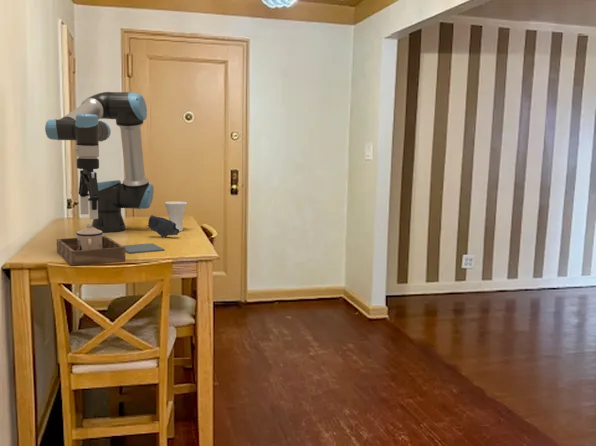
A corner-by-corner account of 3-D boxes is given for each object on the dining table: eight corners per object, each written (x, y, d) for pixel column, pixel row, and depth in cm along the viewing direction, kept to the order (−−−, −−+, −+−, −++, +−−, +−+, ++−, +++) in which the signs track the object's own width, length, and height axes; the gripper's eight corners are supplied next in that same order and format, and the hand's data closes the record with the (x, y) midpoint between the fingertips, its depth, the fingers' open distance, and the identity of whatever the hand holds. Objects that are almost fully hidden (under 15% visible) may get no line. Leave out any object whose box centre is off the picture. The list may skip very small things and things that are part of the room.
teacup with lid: (77, 253, 209) (76, 223, 207) (103, 252, 212) (102, 222, 210) (76, 260, 198) (75, 228, 196) (103, 259, 201) (102, 227, 199)
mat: (118, 247, 223) (118, 245, 223) (152, 244, 231) (152, 243, 231) (129, 253, 212) (129, 252, 212) (164, 250, 219) (164, 249, 219)
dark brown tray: (56, 252, 210) (56, 239, 210) (105, 248, 220) (105, 235, 220) (72, 266, 189) (71, 251, 188) (125, 261, 199) (125, 247, 198)
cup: (160, 231, 265) (160, 202, 263) (173, 228, 274) (172, 200, 272) (178, 233, 261) (178, 204, 259) (191, 230, 271) (191, 202, 269)
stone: (179, 236, 252) (179, 214, 251) (179, 238, 246) (179, 216, 245) (147, 236, 249) (147, 214, 248) (147, 238, 244) (146, 216, 242)
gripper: (69, 156, 208) (70, 212, 211) (85, 159, 187) (86, 221, 190) (90, 156, 212) (91, 211, 215) (108, 159, 191) (109, 220, 194)
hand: (89, 216), depth 203 cm, fingers open, 13 cm apart
